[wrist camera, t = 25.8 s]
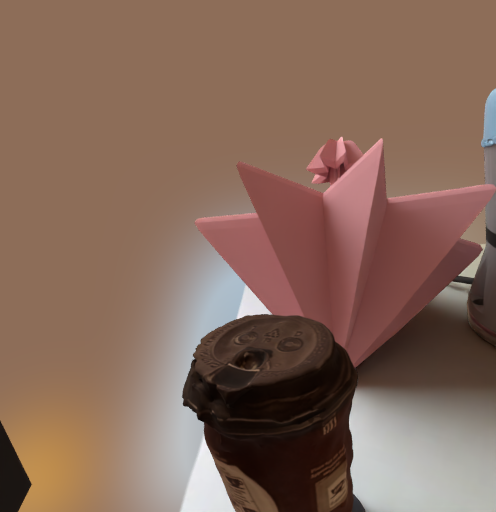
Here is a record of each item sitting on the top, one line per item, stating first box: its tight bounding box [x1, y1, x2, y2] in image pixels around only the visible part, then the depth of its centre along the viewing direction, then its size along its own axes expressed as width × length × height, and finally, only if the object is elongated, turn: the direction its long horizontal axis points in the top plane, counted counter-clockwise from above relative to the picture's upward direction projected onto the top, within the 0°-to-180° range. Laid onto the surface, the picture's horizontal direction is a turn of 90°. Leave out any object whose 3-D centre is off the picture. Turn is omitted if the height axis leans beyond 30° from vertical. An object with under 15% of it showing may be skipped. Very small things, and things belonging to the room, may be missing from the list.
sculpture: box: [195, 137, 496, 368], centre depth 44 cm, size 28×20×21 cm
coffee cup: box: [182, 314, 358, 512], centre depth 23 cm, size 9×8×13 cm
